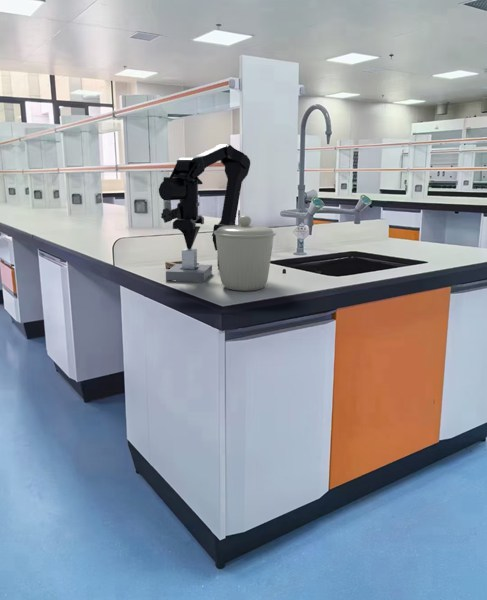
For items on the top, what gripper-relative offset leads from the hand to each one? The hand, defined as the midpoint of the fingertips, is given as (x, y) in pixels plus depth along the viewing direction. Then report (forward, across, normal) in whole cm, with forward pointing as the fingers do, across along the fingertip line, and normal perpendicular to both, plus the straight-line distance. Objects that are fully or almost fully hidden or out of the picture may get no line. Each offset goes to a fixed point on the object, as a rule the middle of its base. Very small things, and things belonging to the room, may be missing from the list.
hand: (189, 249), depth 167 cm
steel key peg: (+9, 0, 0) cm, 9 cm away
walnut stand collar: (+9, -15, -6) cm, 18 cm away
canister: (+9, +12, +19) cm, 25 cm away
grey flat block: (+9, 0, 0) cm, 9 cm away
